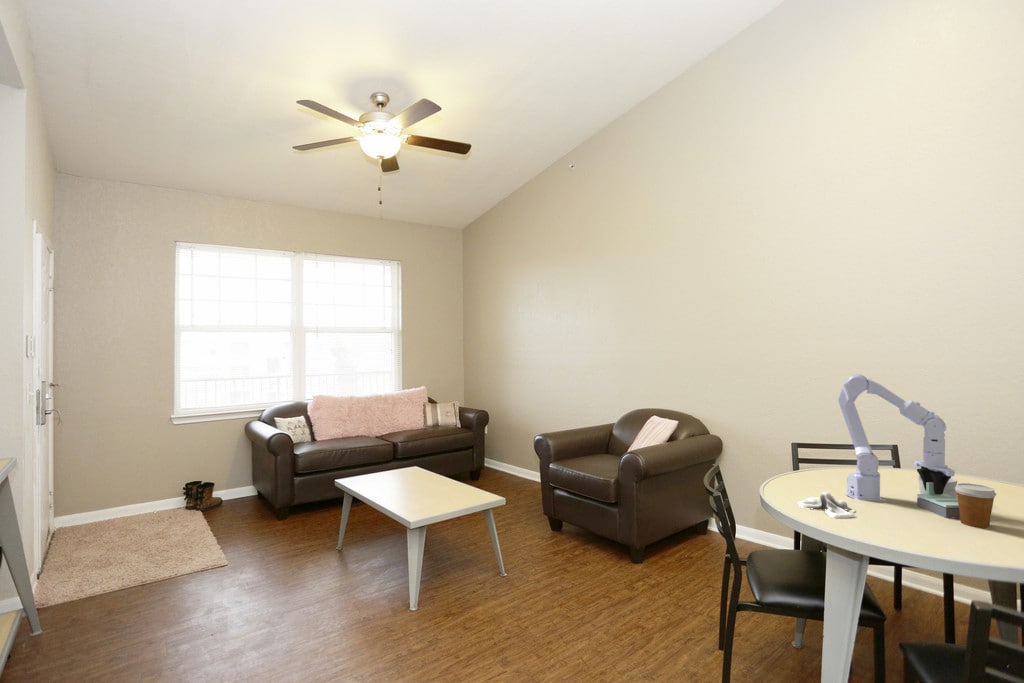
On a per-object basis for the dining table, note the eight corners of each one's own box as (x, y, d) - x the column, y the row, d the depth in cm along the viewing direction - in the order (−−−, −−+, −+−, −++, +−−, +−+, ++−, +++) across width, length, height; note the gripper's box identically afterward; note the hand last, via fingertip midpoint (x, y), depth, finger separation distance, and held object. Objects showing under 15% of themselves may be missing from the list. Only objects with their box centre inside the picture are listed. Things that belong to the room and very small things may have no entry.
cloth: (850, 524, 164) (850, 504, 164) (787, 509, 177) (787, 491, 177) (871, 509, 178) (871, 491, 178) (811, 497, 192) (811, 480, 192)
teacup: (953, 507, 180) (953, 483, 180) (914, 499, 188) (914, 476, 188) (962, 499, 189) (962, 477, 189) (924, 492, 197) (925, 471, 197)
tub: (977, 520, 166) (978, 509, 166) (945, 519, 167) (946, 508, 167) (946, 508, 178) (947, 497, 178) (917, 507, 179) (917, 497, 179)
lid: (978, 508, 166) (978, 492, 166) (946, 507, 167) (946, 492, 167) (947, 496, 178) (947, 482, 178) (917, 496, 179) (917, 482, 179)
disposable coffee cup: (954, 519, 167) (954, 481, 167) (994, 525, 161) (995, 486, 161) (954, 527, 160) (954, 487, 160) (997, 534, 154) (997, 493, 154)
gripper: (964, 456, 171) (963, 498, 171) (929, 447, 185) (928, 486, 185) (942, 456, 171) (941, 498, 171) (908, 447, 185) (908, 486, 185)
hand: (933, 492), depth 178 cm, fingers open, 4 cm apart
